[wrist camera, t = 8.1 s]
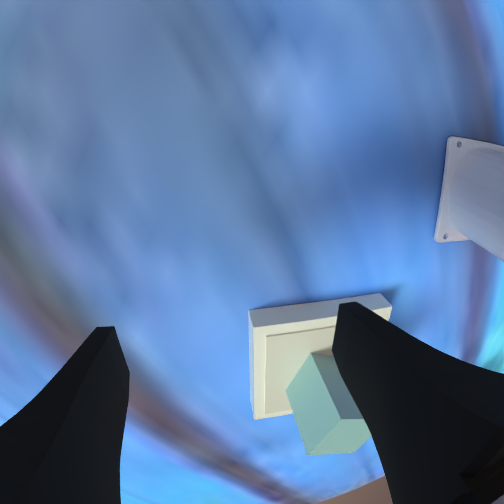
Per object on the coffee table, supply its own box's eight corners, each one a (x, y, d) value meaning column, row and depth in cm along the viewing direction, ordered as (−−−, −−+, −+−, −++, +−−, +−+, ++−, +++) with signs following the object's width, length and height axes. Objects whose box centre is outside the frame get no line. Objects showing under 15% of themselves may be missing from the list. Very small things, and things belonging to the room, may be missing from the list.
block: (353, 359, 23) (388, 418, 17) (327, 394, 24) (354, 452, 19) (310, 352, 22) (341, 419, 16) (285, 390, 23) (307, 455, 18)
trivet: (376, 288, 24) (393, 307, 21) (354, 378, 28) (365, 398, 26) (247, 305, 22) (253, 328, 20) (249, 397, 26) (254, 420, 24)
